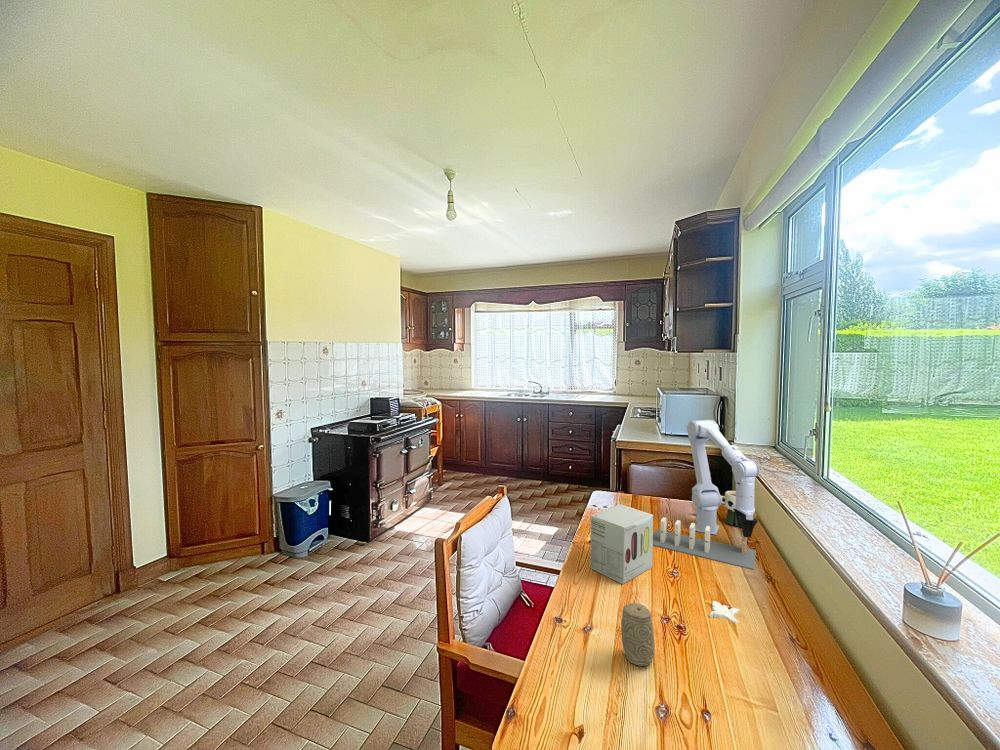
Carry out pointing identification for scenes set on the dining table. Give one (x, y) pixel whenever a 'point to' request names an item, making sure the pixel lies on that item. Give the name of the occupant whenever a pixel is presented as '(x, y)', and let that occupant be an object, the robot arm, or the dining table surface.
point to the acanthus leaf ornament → (723, 612)
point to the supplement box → (621, 542)
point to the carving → (637, 634)
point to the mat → (716, 551)
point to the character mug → (730, 507)
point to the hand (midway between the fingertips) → (744, 532)
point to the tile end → (744, 544)
